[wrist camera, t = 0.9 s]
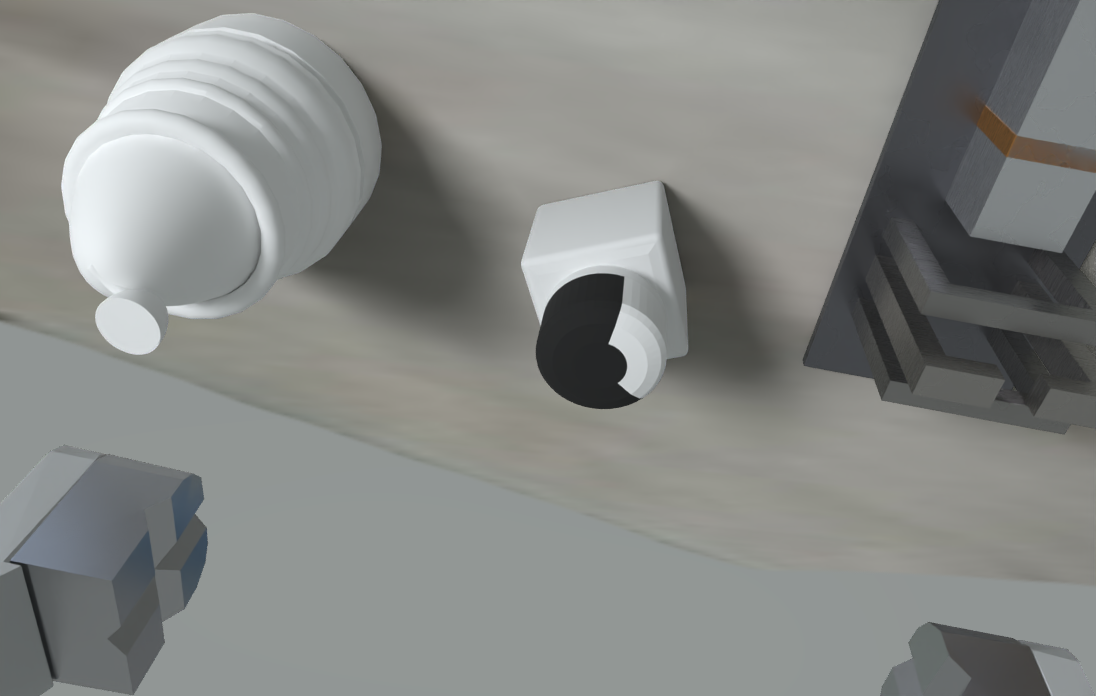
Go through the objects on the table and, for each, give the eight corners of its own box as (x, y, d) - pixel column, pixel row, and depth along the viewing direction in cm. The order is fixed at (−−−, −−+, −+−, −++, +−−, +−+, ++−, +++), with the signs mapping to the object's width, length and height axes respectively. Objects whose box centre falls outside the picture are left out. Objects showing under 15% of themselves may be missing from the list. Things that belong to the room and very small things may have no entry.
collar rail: (998, -156, 36) (1115, -138, 27) (1279, -107, 36) (1498, -72, 27) (802, 360, 51) (833, 488, 42) (1001, 397, 51) (1077, 534, 42)
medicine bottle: (568, 312, 51) (545, 437, 41) (536, 204, 48) (502, 312, 38) (686, 290, 50) (692, 415, 40) (662, 177, 46) (661, 283, 36)
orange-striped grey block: (1097, -154, 36) (1147, -148, 32) (1205, -135, 36) (1267, -126, 32) (943, 199, 44) (968, 236, 41) (1029, 215, 44) (1062, 253, 41)
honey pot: (429, 148, 47) (318, 316, 32) (287, 278, 52) (136, 472, 37) (245, -44, 43) (15, 46, 28) (111, 120, 48) (-139, 268, 33)
